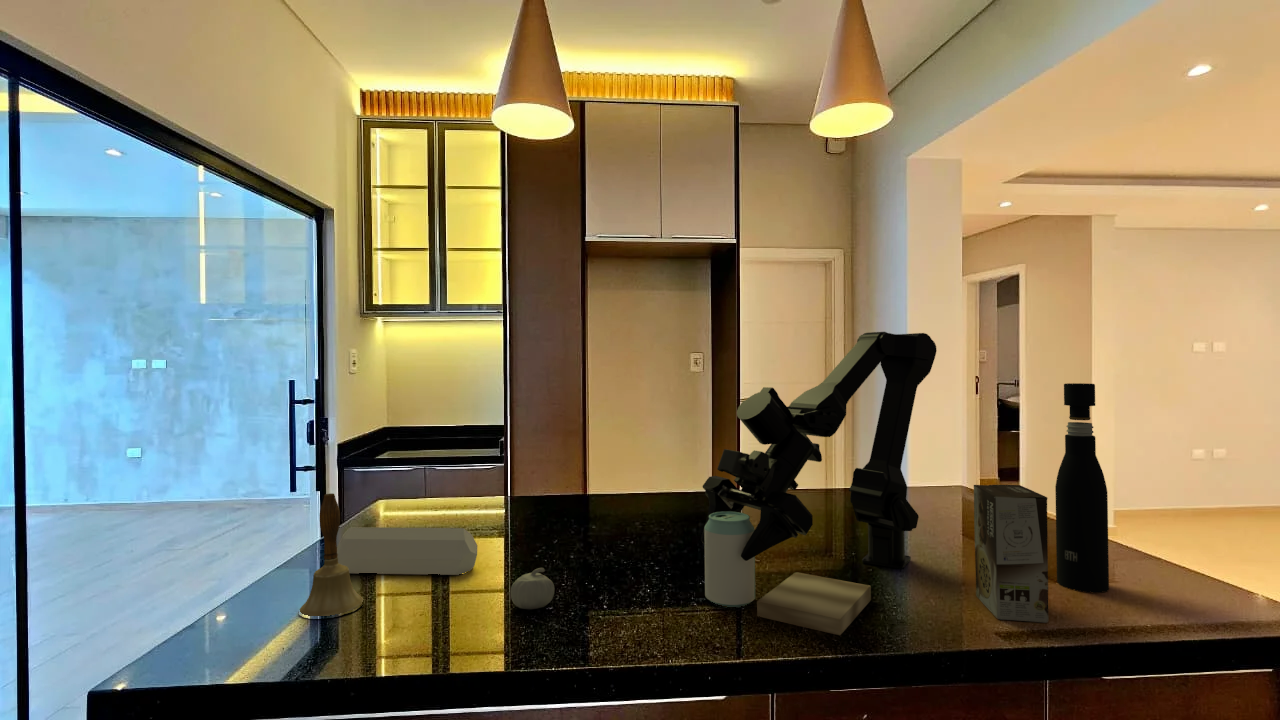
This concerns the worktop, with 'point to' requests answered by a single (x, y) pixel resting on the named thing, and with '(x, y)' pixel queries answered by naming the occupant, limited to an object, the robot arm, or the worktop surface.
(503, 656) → the worktop surface
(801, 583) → the beige wooden slab
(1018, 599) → the coffee box
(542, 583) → the grey pumpkin
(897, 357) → the robot arm
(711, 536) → the can
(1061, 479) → the black bottle
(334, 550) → the hand bell
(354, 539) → the crystal
